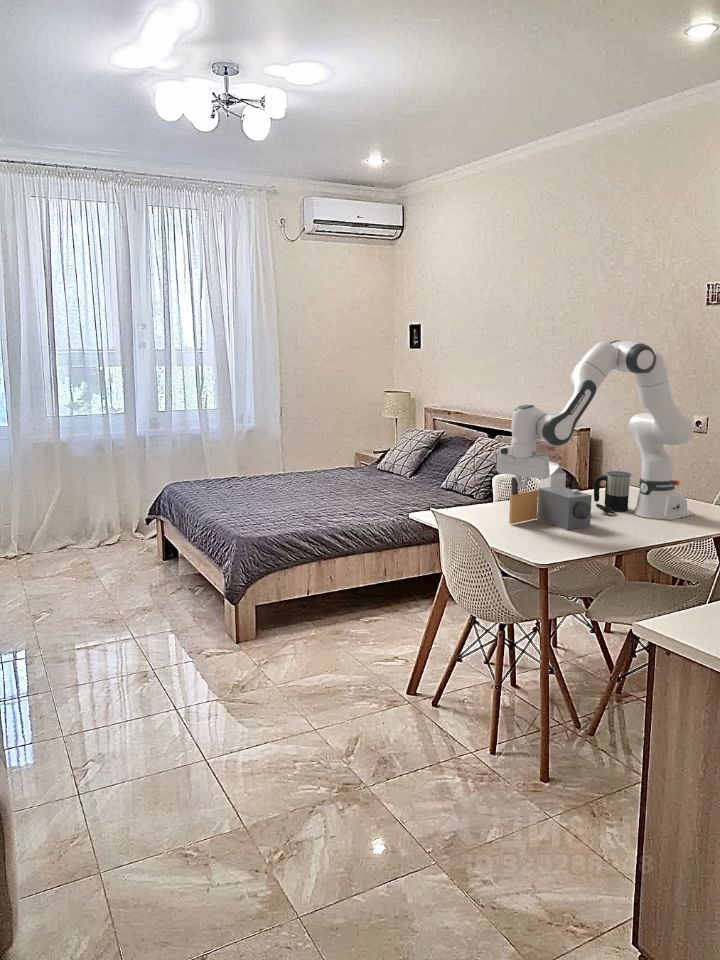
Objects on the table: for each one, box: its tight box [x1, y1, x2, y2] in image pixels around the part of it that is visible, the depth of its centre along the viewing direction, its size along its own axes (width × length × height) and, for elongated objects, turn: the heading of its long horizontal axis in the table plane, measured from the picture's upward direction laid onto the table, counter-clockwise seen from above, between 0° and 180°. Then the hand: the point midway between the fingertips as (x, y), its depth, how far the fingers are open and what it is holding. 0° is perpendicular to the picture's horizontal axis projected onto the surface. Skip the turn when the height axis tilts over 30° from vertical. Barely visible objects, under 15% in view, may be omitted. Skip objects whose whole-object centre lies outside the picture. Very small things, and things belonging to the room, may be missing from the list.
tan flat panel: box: [508, 476, 538, 525], centre depth 283 cm, size 2×14×17 cm, turn 126°
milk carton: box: [539, 460, 567, 488], centre depth 303 cm, size 7×7×19 cm
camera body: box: [537, 486, 593, 531], centre depth 281 cm, size 10×20×13 cm, turn 23°
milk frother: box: [593, 470, 632, 515], centre depth 300 cm, size 14×16×15 cm
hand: (522, 488), depth 276 cm, fingers closed
